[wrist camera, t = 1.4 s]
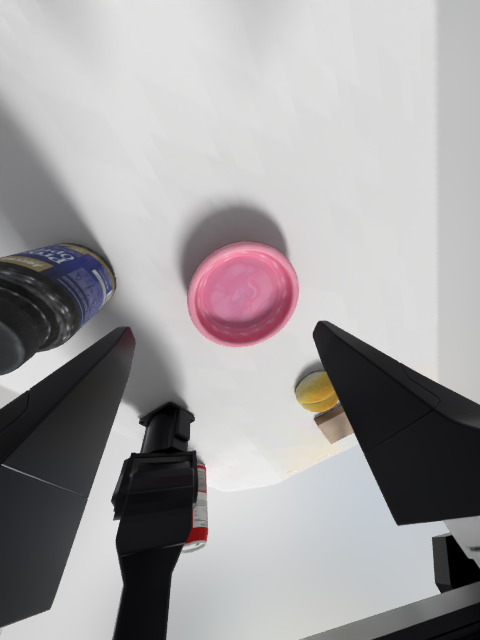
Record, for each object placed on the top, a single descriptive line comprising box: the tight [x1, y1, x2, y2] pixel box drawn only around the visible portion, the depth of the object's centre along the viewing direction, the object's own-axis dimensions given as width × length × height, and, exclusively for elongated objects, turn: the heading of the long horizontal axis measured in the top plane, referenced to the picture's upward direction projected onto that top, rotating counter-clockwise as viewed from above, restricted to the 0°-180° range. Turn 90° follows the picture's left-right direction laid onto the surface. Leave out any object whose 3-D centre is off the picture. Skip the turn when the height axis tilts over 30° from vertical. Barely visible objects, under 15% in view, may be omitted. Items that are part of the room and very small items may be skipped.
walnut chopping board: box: [314, 405, 354, 444], centre depth 43 cm, size 20×12×2 cm, turn 121°
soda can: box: [180, 463, 208, 554], centre depth 37 cm, size 6×6×12 cm
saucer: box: [187, 241, 299, 347], centre depth 21 cm, size 12×12×3 cm
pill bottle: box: [0, 243, 116, 375], centre depth 13 cm, size 6×6×11 cm
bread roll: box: [296, 371, 339, 412], centre depth 34 cm, size 8×9×4 cm
